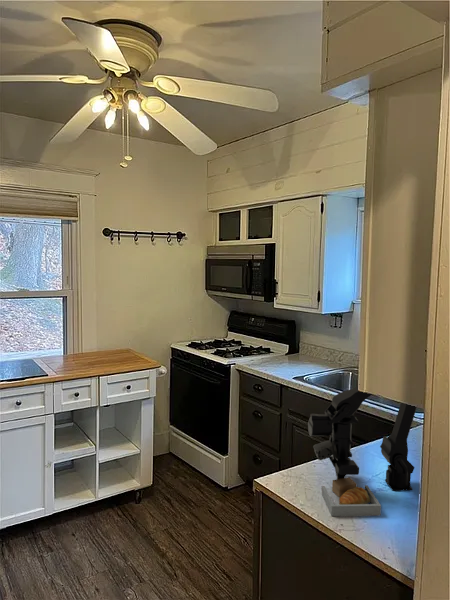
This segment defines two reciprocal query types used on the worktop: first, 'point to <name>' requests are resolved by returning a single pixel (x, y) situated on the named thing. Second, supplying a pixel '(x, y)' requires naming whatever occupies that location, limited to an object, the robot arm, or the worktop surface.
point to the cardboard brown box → (342, 486)
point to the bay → (353, 506)
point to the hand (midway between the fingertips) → (339, 482)
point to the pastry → (354, 497)
